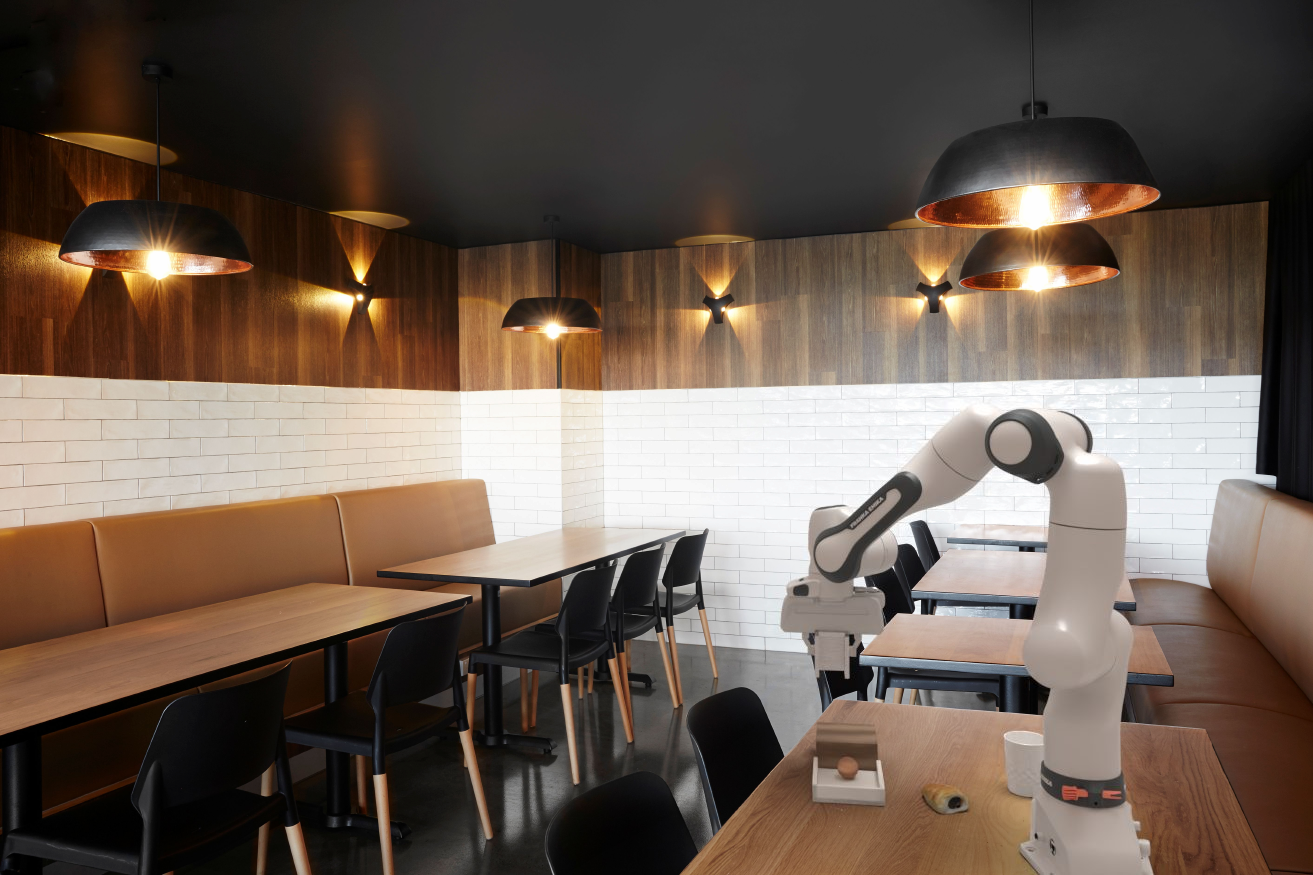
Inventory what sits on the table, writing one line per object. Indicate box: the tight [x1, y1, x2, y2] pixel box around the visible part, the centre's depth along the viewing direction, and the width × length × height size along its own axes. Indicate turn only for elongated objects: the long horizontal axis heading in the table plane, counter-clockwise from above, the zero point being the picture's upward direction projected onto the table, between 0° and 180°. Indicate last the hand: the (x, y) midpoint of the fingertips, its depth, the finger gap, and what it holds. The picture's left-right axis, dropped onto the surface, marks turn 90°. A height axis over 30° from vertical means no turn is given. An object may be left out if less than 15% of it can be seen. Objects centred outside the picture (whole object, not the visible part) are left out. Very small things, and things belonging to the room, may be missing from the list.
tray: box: [811, 756, 886, 807], centre depth 169 cm, size 15×13×3 cm
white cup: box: [1003, 730, 1044, 799], centre depth 166 cm, size 8×8×10 cm
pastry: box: [921, 782, 970, 815], centre depth 162 cm, size 9×7×4 cm
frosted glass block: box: [814, 630, 850, 680], centre depth 177 cm, size 6×7×9 cm
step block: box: [815, 721, 879, 771], centre depth 183 cm, size 12×12×6 cm
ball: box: [837, 757, 858, 779], centre depth 172 cm, size 4×4×4 cm
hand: (831, 655), depth 177 cm, fingers closed on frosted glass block, 7 cm apart
